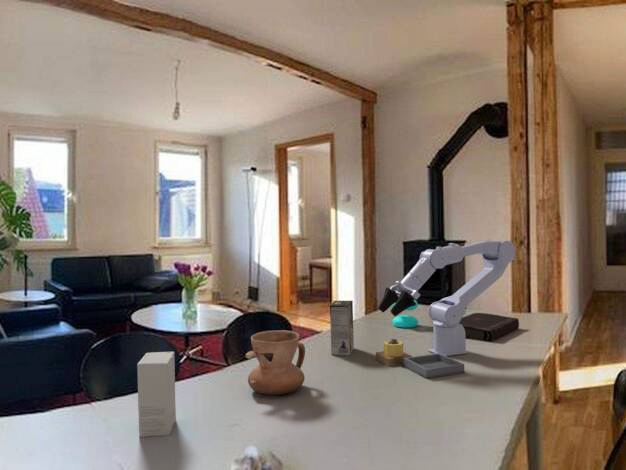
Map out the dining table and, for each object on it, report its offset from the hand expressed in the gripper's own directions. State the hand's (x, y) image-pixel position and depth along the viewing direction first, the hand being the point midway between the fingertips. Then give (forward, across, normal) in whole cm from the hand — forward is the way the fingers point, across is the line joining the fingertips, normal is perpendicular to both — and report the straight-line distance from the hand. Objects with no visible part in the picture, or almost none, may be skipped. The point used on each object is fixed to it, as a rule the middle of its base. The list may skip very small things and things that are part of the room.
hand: (386, 312), depth 151 cm
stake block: (+9, 0, +12) cm, 15 cm away
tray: (+4, +12, +16) cm, 21 cm away
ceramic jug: (+38, +10, -13) cm, 41 cm away
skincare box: (+60, +23, -33) cm, 73 cm away
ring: (+7, 0, +11) cm, 13 cm away
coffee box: (+16, -16, +6) cm, 23 cm away
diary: (-26, -18, +44) cm, 55 cm away
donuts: (-12, -40, +30) cm, 51 cm away
